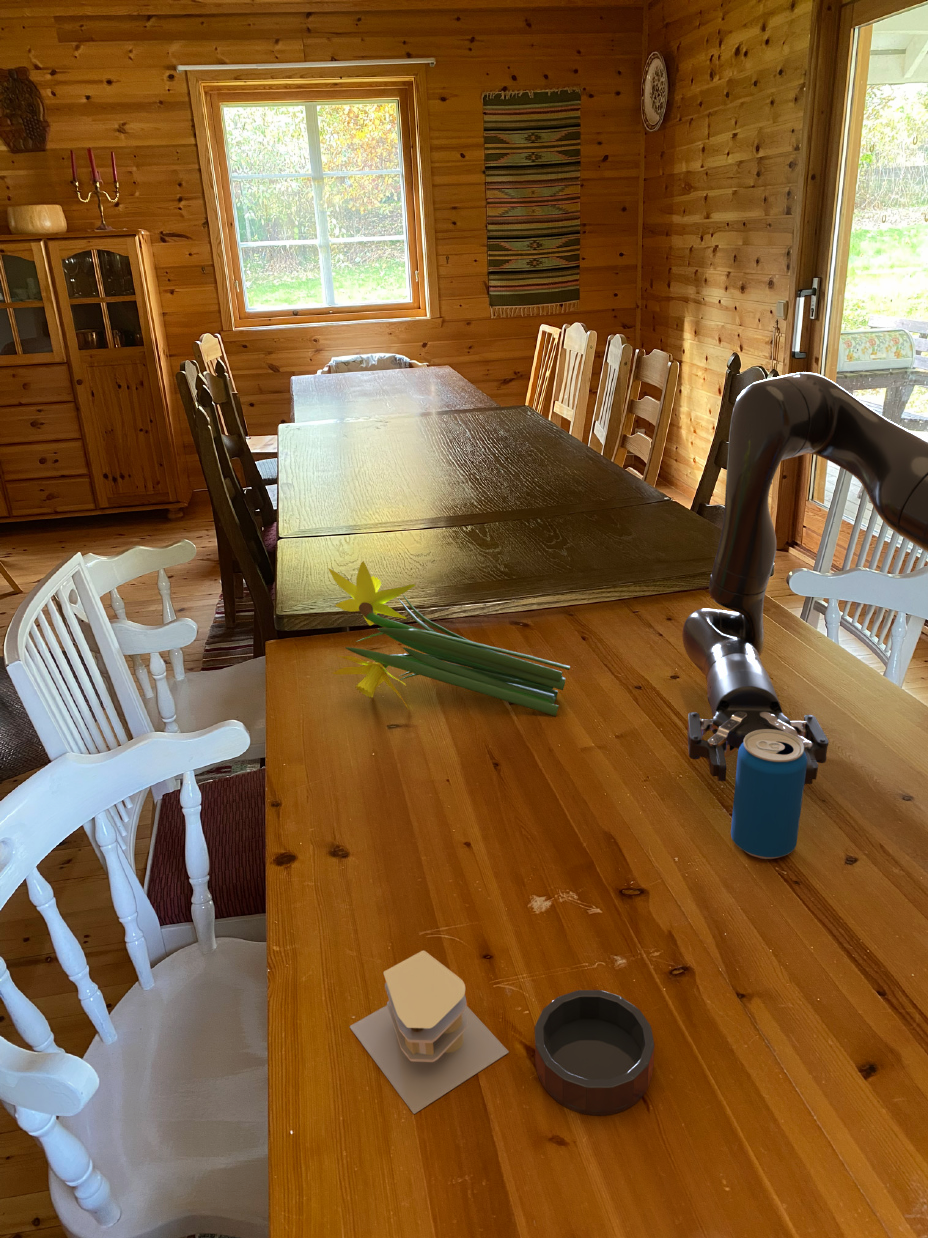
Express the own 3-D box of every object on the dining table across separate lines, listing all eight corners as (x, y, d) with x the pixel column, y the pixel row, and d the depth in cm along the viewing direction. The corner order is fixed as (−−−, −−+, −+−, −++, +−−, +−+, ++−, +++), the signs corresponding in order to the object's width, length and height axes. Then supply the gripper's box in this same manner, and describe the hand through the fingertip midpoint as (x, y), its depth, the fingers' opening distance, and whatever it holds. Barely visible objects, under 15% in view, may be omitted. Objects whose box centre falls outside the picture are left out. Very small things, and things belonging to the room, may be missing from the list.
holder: (664, 1037, 73) (666, 1010, 72) (634, 1133, 66) (635, 1105, 65) (558, 1003, 77) (557, 976, 76) (518, 1091, 69) (517, 1063, 68)
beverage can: (794, 869, 90) (807, 767, 85) (727, 857, 93) (736, 756, 88) (797, 830, 96) (809, 732, 91) (733, 819, 98) (742, 722, 93)
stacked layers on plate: (349, 1027, 76) (342, 977, 73) (439, 975, 80) (435, 927, 78) (414, 1114, 68) (408, 1062, 66) (509, 1052, 73) (507, 1001, 70)
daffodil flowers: (546, 754, 113) (280, 672, 116) (543, 750, 127) (306, 677, 130) (584, 624, 114) (321, 546, 117) (577, 634, 129) (342, 565, 132)
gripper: (681, 668, 107) (696, 742, 92) (808, 669, 105) (843, 746, 91) (678, 723, 110) (692, 803, 96) (801, 726, 108) (834, 808, 94)
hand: (765, 775), depth 93 cm, fingers open, 8 cm apart
